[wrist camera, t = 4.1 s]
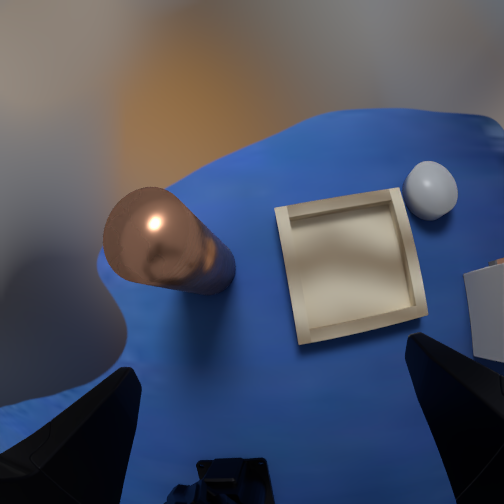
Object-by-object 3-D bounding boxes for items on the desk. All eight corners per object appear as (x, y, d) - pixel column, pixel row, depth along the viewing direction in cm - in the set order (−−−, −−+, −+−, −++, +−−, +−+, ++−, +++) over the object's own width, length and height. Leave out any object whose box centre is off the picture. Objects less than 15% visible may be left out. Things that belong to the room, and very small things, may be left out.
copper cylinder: (239, 290, 26) (194, 274, 14) (185, 299, 26) (106, 289, 14) (231, 235, 27) (183, 177, 15) (179, 245, 27) (102, 199, 15)
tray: (419, 314, 23) (428, 314, 22) (298, 342, 24) (298, 345, 23) (392, 194, 26) (398, 187, 24) (275, 214, 27) (274, 208, 25)
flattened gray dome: (452, 216, 25) (464, 209, 22) (410, 225, 25) (420, 217, 23) (436, 169, 26) (446, 159, 23) (395, 175, 26) (403, 163, 24)
